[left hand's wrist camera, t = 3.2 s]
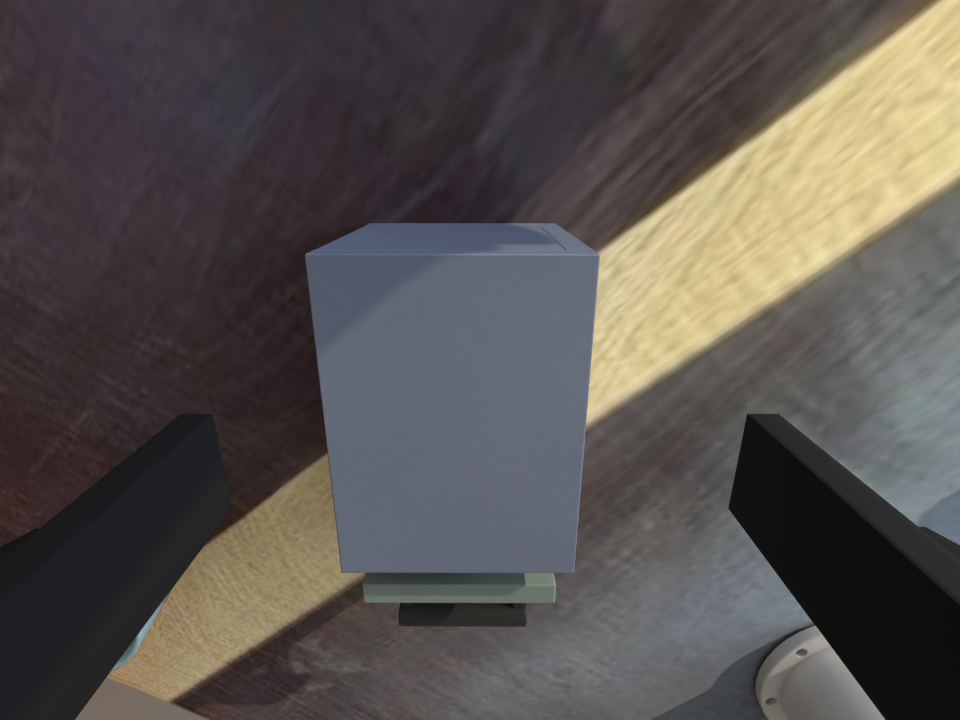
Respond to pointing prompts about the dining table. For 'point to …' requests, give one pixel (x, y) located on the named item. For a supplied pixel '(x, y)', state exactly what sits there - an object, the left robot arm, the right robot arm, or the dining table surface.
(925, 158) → the dining table surface
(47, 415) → the dining table surface
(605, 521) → the dining table surface
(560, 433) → the cabinet
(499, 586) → the drawer
